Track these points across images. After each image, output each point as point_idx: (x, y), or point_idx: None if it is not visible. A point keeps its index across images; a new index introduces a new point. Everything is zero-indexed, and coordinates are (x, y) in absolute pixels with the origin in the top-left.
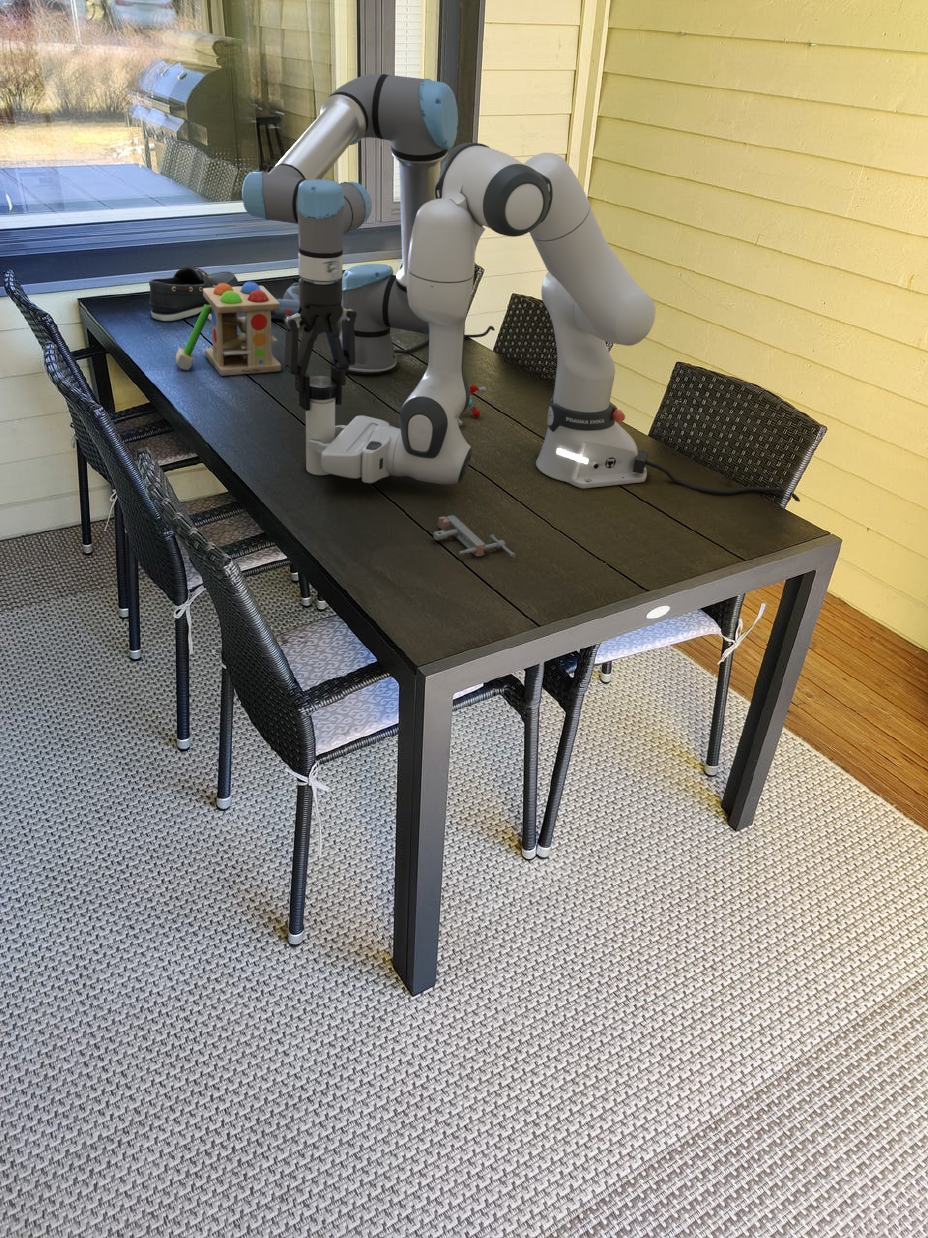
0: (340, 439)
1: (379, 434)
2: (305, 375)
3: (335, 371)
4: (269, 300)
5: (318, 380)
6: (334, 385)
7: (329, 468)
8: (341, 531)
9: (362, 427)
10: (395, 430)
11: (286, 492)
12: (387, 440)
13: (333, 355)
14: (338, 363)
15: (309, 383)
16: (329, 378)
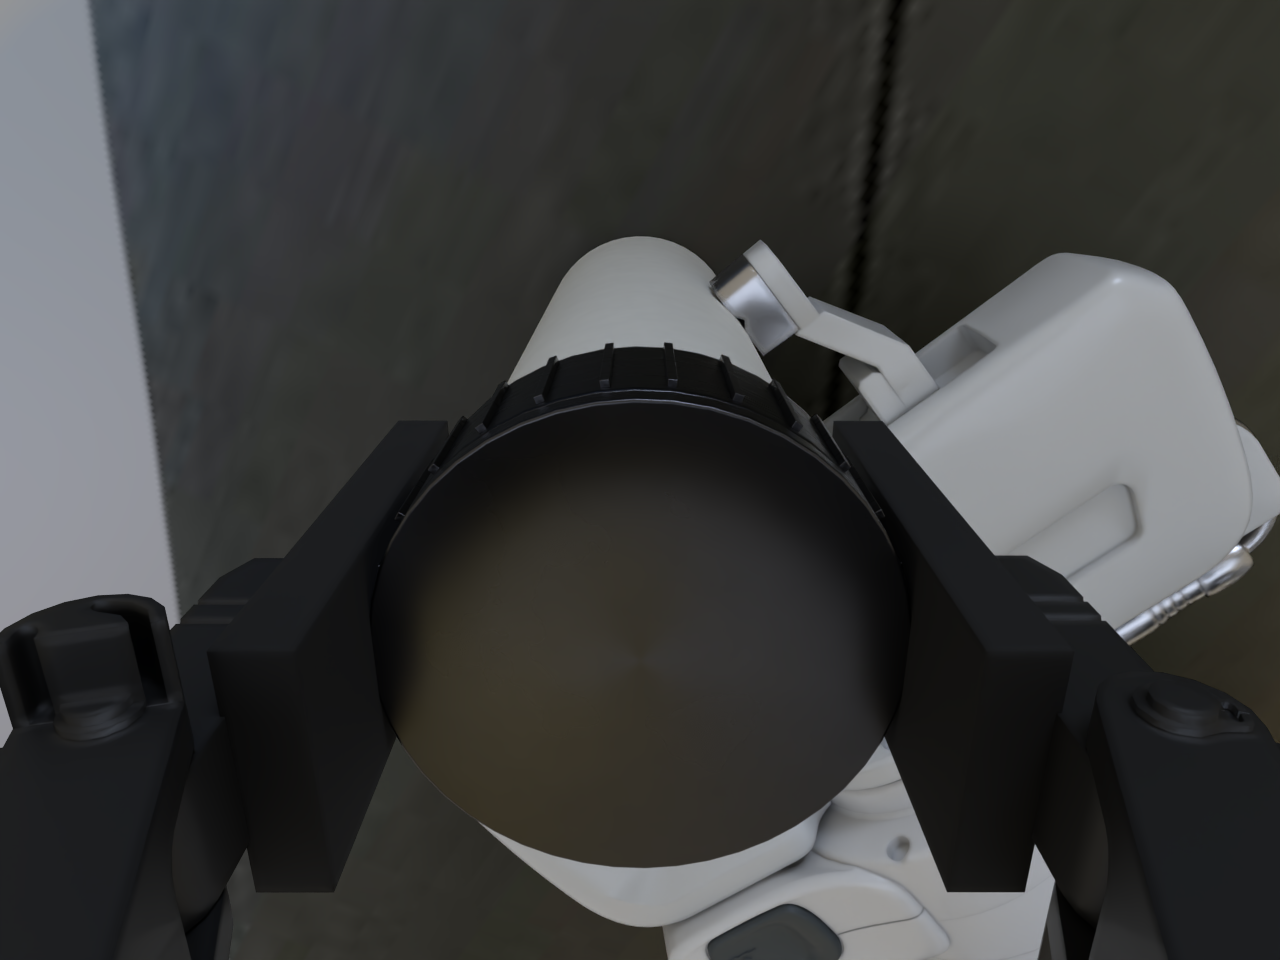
0: None
1: (898, 905)
2: (267, 843)
3: (947, 778)
4: None
5: (634, 609)
6: (755, 843)
7: None
8: (415, 913)
9: (983, 532)
10: (1039, 933)
11: (317, 506)
12: (901, 957)
13: (1128, 920)
14: (1102, 854)
15: (365, 796)
16: (851, 602)
